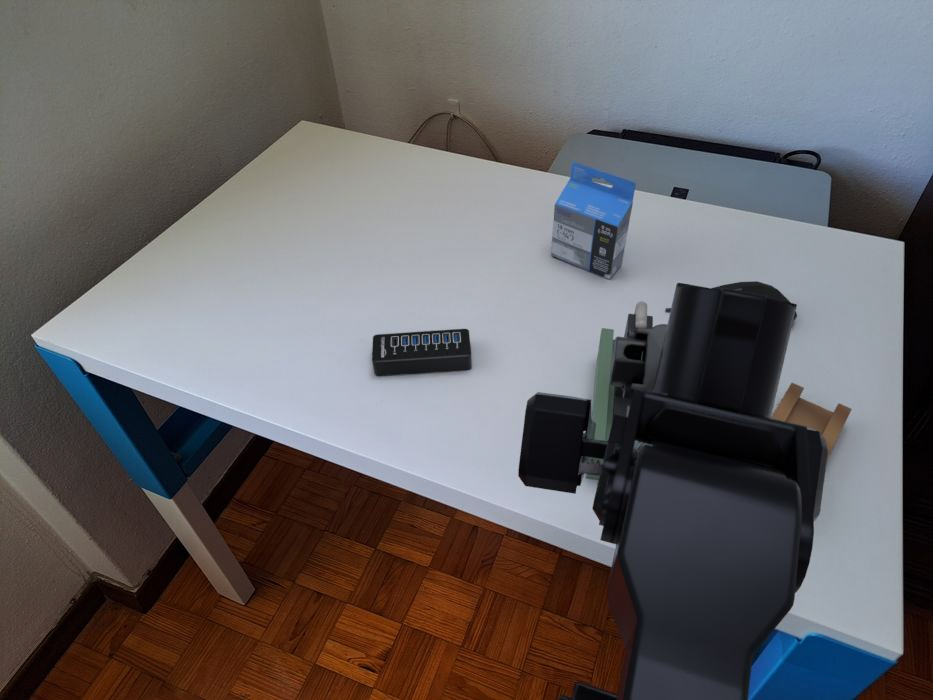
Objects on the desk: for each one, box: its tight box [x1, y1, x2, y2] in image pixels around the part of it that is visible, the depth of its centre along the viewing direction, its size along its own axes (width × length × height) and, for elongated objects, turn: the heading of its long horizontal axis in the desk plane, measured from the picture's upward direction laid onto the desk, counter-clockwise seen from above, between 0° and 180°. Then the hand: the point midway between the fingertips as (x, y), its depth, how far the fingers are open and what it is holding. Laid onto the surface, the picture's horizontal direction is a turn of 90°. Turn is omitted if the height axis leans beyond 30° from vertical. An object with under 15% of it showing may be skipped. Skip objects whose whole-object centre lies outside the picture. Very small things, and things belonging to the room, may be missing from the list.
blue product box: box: [550, 160, 637, 280], centre depth 85 cm, size 9×4×12 cm, turn 54°
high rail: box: [585, 327, 615, 480], centre depth 70 cm, size 16×6×5 cm, turn 168°
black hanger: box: [612, 300, 654, 423], centre depth 65 cm, size 8×2×11 cm, turn 168°
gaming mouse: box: [665, 280, 798, 323], centre depth 80 cm, size 6×15×4 cm, turn 84°
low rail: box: [771, 382, 853, 459], centre depth 66 cm, size 16×6×2 cm, turn 142°
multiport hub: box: [371, 328, 472, 377], centre depth 77 cm, size 4×11×2 cm, turn 93°
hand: (652, 439), depth 53 cm, fingers open, 9 cm apart
